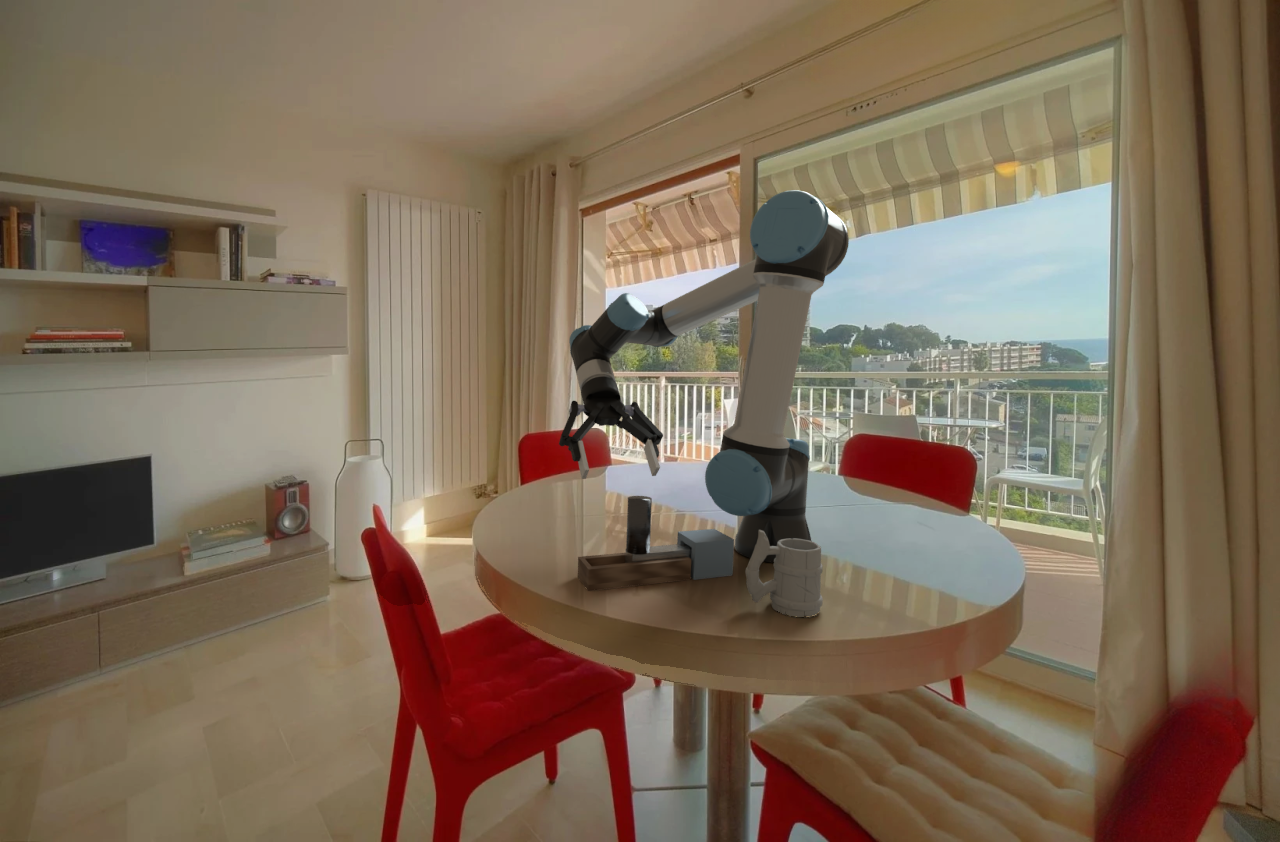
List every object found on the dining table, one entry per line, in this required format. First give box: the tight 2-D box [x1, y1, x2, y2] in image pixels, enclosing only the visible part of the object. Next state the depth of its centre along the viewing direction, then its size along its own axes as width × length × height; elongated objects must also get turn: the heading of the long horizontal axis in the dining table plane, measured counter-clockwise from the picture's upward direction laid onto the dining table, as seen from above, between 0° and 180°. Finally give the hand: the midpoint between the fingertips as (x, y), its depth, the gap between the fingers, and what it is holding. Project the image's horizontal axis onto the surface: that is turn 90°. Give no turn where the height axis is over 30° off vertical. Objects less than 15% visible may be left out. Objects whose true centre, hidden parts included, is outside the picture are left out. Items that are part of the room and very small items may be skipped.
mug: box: [745, 530, 824, 618], centre depth 83 cm, size 8×12×12 cm, turn 98°
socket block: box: [676, 528, 735, 581], centre depth 99 cm, size 8×7×6 cm
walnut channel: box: [577, 552, 692, 592], centre depth 94 cm, size 18×6×4 cm, turn 112°
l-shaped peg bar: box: [625, 495, 692, 563], centre depth 96 cm, size 16×4×12 cm, turn 112°
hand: (621, 473), depth 101 cm, fingers open, 13 cm apart
